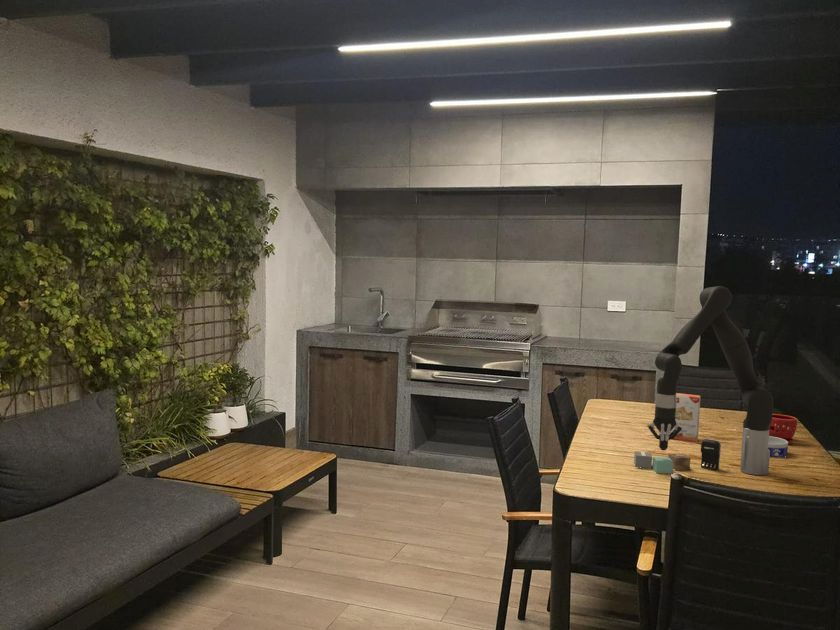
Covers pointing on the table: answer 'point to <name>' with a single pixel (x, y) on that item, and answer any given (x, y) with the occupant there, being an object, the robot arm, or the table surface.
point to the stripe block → (643, 460)
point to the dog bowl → (777, 447)
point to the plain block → (662, 465)
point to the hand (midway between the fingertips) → (663, 449)
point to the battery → (710, 454)
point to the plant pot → (783, 431)
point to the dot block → (680, 461)
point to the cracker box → (687, 416)
